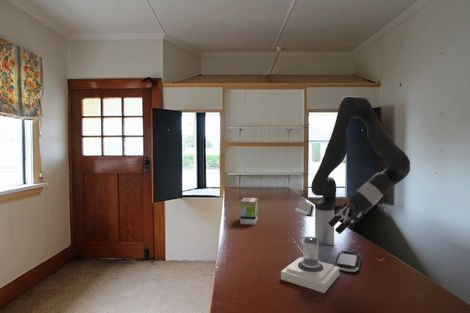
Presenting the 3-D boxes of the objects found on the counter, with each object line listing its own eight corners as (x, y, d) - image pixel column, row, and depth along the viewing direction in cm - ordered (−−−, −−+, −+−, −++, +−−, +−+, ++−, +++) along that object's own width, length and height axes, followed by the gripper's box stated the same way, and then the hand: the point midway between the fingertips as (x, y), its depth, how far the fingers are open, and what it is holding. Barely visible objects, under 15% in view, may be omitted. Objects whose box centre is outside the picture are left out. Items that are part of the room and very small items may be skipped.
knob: (306, 260, 106) (306, 234, 106) (322, 264, 102) (322, 238, 102) (299, 266, 101) (298, 239, 101) (315, 270, 97) (315, 242, 97)
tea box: (255, 225, 172) (255, 201, 172) (240, 224, 174) (239, 201, 173) (257, 219, 187) (257, 197, 187) (243, 218, 189) (242, 197, 188)
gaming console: (358, 276, 103) (358, 269, 103) (333, 271, 107) (333, 264, 107) (361, 257, 120) (361, 252, 120) (339, 254, 124) (339, 248, 124)
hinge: (294, 211, 209) (298, 198, 210) (299, 212, 210) (303, 200, 211) (306, 216, 193) (310, 202, 194) (311, 217, 195) (315, 204, 195)
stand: (299, 264, 113) (299, 253, 113) (339, 275, 103) (339, 263, 103) (281, 279, 100) (280, 267, 100) (324, 293, 90) (324, 279, 90)
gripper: (350, 187, 107) (321, 216, 108) (366, 193, 93) (331, 226, 94) (364, 201, 107) (334, 230, 108) (382, 209, 93) (347, 242, 94)
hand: (333, 228), depth 101 cm, fingers open, 8 cm apart
